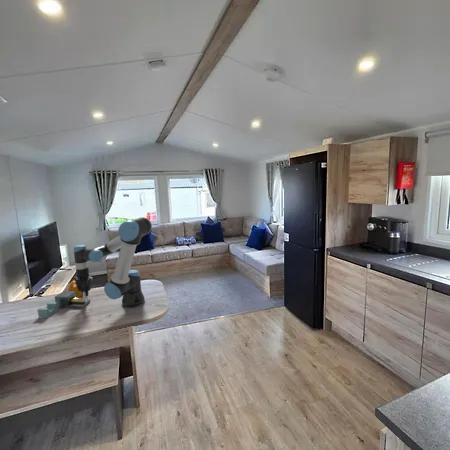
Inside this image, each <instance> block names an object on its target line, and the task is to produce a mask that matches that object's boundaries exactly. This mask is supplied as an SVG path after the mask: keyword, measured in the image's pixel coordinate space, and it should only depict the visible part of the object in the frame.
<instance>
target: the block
mask: <svg viewBox="0 0 450 450" xmlns="http://www.w3.org/2000/svg"><path fill="white" fill-rule="evenodd" d="M70 298H77V297H76V291H68V290H63V291H62V292H60V293H58V294H57V295H55V296H54V302H57V303H58V309H59V308H61V309H83V308H85V307H86V306H88V304H90V303H91V300H90V299H88V300H87V301H85V303H73V302H70Z"/></svg>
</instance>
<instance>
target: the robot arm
mask: <svg viewBox="0 0 450 450" xmlns="http://www.w3.org/2000/svg"><path fill="white" fill-rule="evenodd" d="M152 228H153V226H152V222H151V221H150V219H148V218H147V217H141V216H140V217H137V218H133V219H128V220H126V221H124V222H121V224H120V225H119V227H118V236H116V237H115V238H113V239H111V240H110V241H108V242H106V243H105V244H103V245H101V246H97V247H94V248H91V249H90V248H87V245H86V244H77V245H75V246H73V257H74V264H75V265H74V266H75V273H76V274H75V275H76V276H74V277H73V278H72V279H73V280H75V282H76V284H75V285H77V288H78V290H79V291H81V292H82V296H81V297H82V298H83V300H84V301H87V300H89V297H88V296H89V291H91V290H92V284H93V283H92V282H93V279H94V276H90V273H89V272H90V271H89V270H90V269H89V268H90V267H89V262H100V261H101V260H102V259H103V258H105V257H106V256H110V255H112V254H114V253H116V251H118V250H119V249H120V250H119V253H118V257H117V261H116V265H115V268H114V269H115V270H114V273H112V274H111V275H110V278H109V282H106V283H105V284H104V287H103V290H104V293H105V294H106V296H107V298H109V299H111V300H117V299H120V298H121V305H122V306H123V307H125V308H133V307H138V306H140V305H143V303H145V296H144V293H143V291H142V285H141V284H142V283H141V273H140V271H139V270H137V269H131V267H132V264H133V259H134V256H135V252H136V249H137V246H138V245H140V244H141V240H142V238H143V237H144V236H146V235H149V234H150V233H151V231H152ZM88 261H89V262H88Z"/></svg>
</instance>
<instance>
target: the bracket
mask: <svg viewBox="0 0 450 450" xmlns="http://www.w3.org/2000/svg"><path fill="white" fill-rule="evenodd" d="M67 291H76V298H81V297H83V296H82V292H81V291H79V290H78V288H77V285H76V282H75V280H74V279H73V280H72V281H71V283H70V285H69V286H68V290H67Z"/></svg>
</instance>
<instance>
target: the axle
mask: <svg viewBox="0 0 450 450" xmlns="http://www.w3.org/2000/svg"><path fill="white" fill-rule="evenodd" d="M70 302H73V303H85V301H84V300H83V297H76V298H70Z"/></svg>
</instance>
